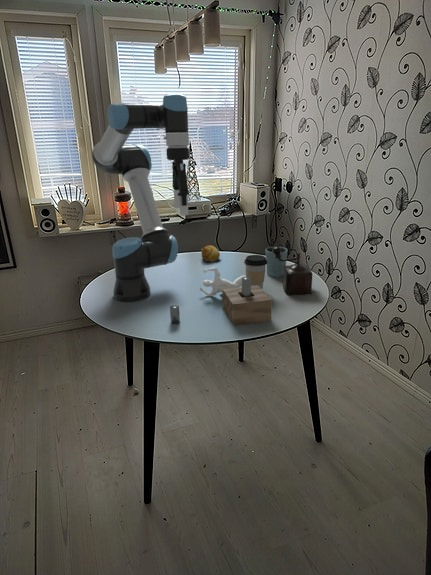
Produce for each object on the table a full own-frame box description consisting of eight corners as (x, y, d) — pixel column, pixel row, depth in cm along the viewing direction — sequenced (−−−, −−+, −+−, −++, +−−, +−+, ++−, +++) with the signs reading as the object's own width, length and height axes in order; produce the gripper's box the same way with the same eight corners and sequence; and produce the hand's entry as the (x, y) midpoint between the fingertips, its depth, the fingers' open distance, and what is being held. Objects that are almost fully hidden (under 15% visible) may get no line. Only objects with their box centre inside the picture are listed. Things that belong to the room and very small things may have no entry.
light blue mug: (281, 279, 172) (282, 253, 167) (261, 275, 177) (261, 250, 172) (289, 272, 180) (290, 248, 175) (270, 269, 185) (270, 245, 180)
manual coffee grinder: (306, 284, 165) (308, 244, 158) (311, 294, 155) (315, 252, 148) (270, 285, 165) (271, 245, 158) (273, 295, 155) (275, 253, 148)
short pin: (170, 320, 136) (169, 305, 134) (179, 319, 137) (178, 304, 134) (171, 324, 133) (170, 309, 131) (180, 323, 134) (179, 308, 131)
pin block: (222, 308, 144) (222, 289, 141) (257, 304, 147) (258, 285, 144) (233, 325, 132) (232, 304, 129) (271, 320, 134) (271, 299, 131)
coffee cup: (242, 288, 163) (243, 254, 157) (264, 287, 163) (265, 253, 158) (245, 296, 154) (245, 261, 149) (268, 296, 154) (269, 260, 149)
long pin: (240, 312, 140) (240, 277, 135) (248, 311, 141) (249, 276, 136) (243, 316, 138) (243, 280, 132) (251, 315, 138) (252, 279, 133)
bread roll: (201, 255, 208) (200, 241, 205) (219, 255, 208) (218, 240, 205) (201, 263, 196) (201, 248, 193) (220, 262, 196) (220, 247, 193)
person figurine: (240, 264, 159) (203, 264, 150) (257, 279, 150) (219, 280, 141) (232, 290, 165) (196, 292, 156) (248, 306, 156) (211, 310, 147)
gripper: (162, 146, 136) (166, 206, 144) (171, 148, 113) (175, 219, 121) (183, 145, 137) (186, 204, 145) (195, 147, 115) (198, 217, 123)
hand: (181, 211), depth 133 cm, fingers open, 13 cm apart
